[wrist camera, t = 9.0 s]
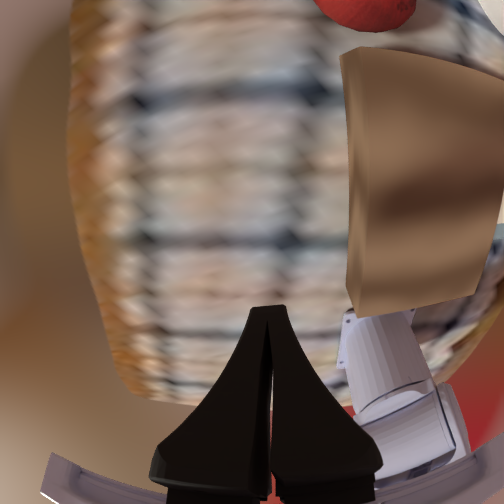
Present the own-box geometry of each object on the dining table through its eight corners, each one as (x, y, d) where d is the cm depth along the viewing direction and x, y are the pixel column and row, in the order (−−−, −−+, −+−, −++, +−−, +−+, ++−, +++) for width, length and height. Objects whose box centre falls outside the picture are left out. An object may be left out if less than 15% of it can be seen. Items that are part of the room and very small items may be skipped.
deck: (454, 268, 21) (473, 294, 18) (345, 285, 22) (357, 318, 19) (474, 78, 12) (508, 82, 8) (339, 56, 13) (360, 46, 10)
